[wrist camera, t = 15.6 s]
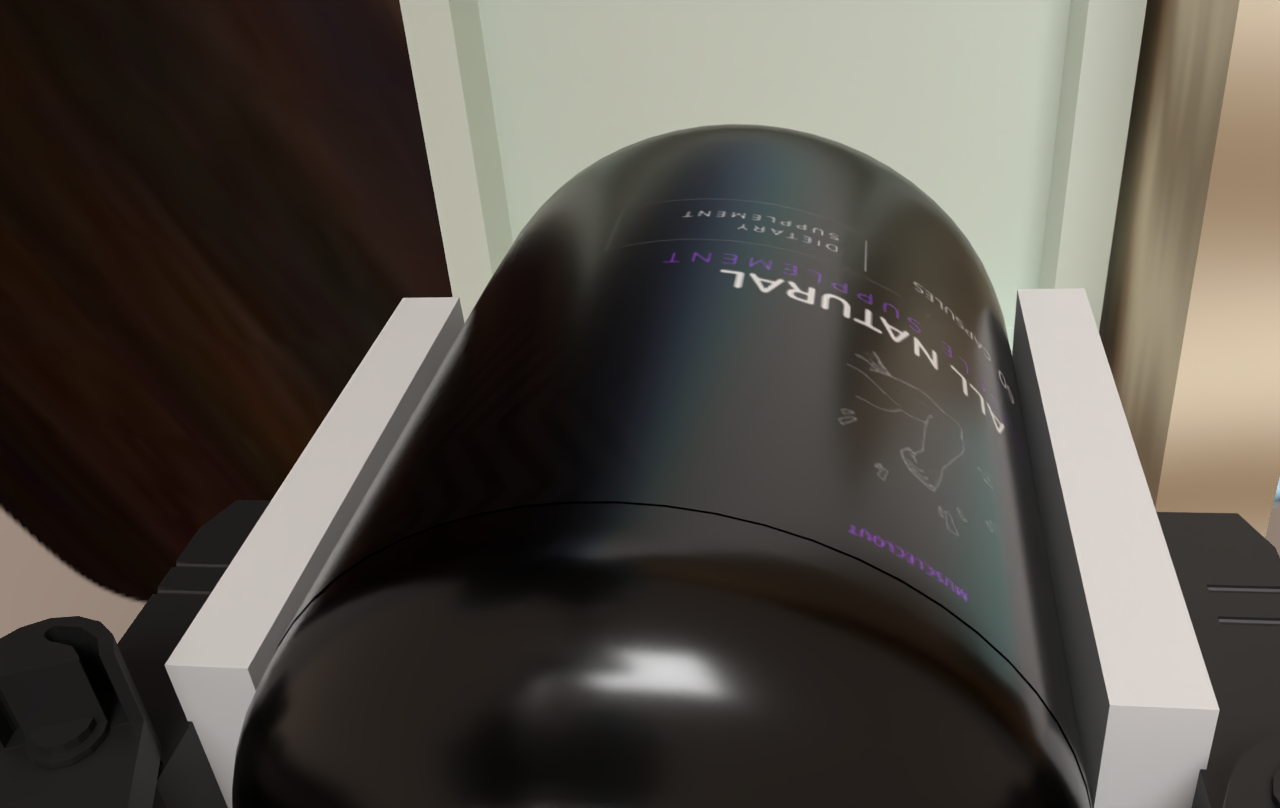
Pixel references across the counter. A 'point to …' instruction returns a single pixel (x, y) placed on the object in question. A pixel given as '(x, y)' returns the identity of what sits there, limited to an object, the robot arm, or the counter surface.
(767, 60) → the sliding tray
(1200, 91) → the backstop wall
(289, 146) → the counter surface
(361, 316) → the counter surface
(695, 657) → the supplement bottle
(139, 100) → the counter surface
